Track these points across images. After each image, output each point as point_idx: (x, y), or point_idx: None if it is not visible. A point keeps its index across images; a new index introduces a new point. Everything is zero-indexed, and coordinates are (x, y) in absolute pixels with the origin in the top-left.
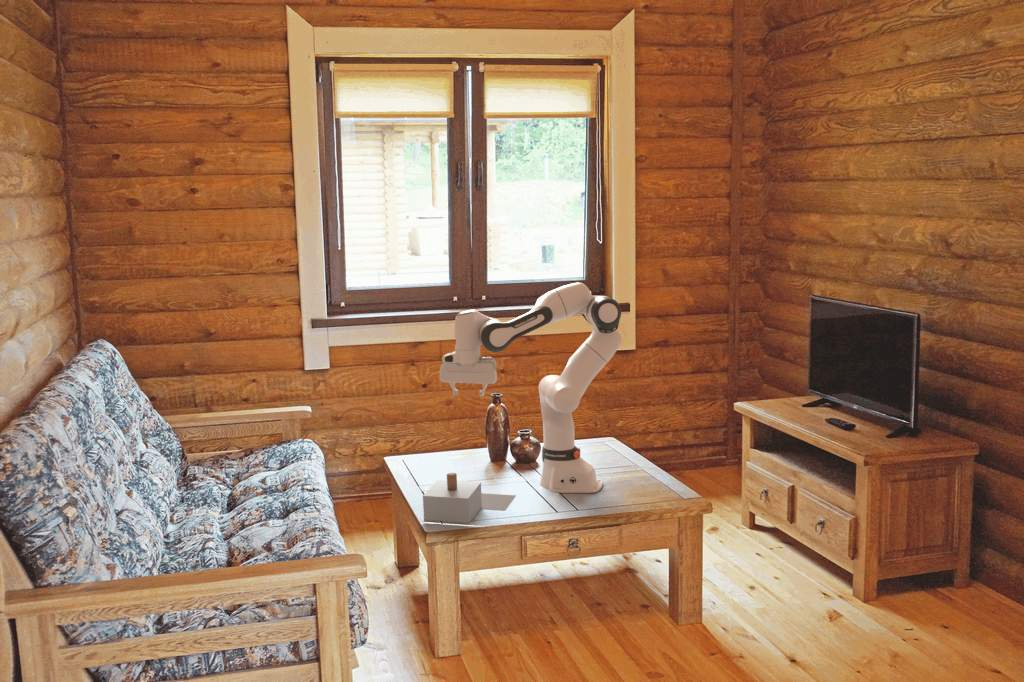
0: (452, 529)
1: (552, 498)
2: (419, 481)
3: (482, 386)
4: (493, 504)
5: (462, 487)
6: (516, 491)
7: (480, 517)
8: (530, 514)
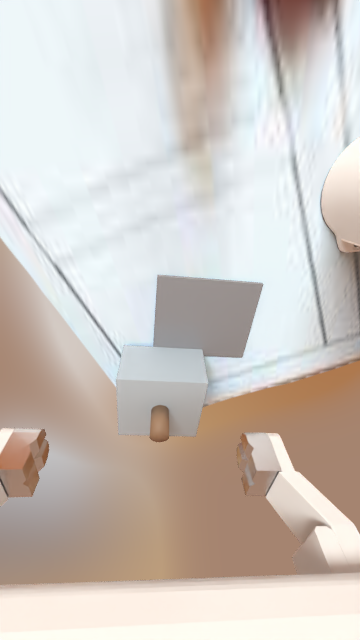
0: None
1: (332, 282)
2: (9, 189)
3: (296, 554)
4: (220, 334)
5: (177, 404)
6: (263, 246)
7: None
8: (281, 358)
